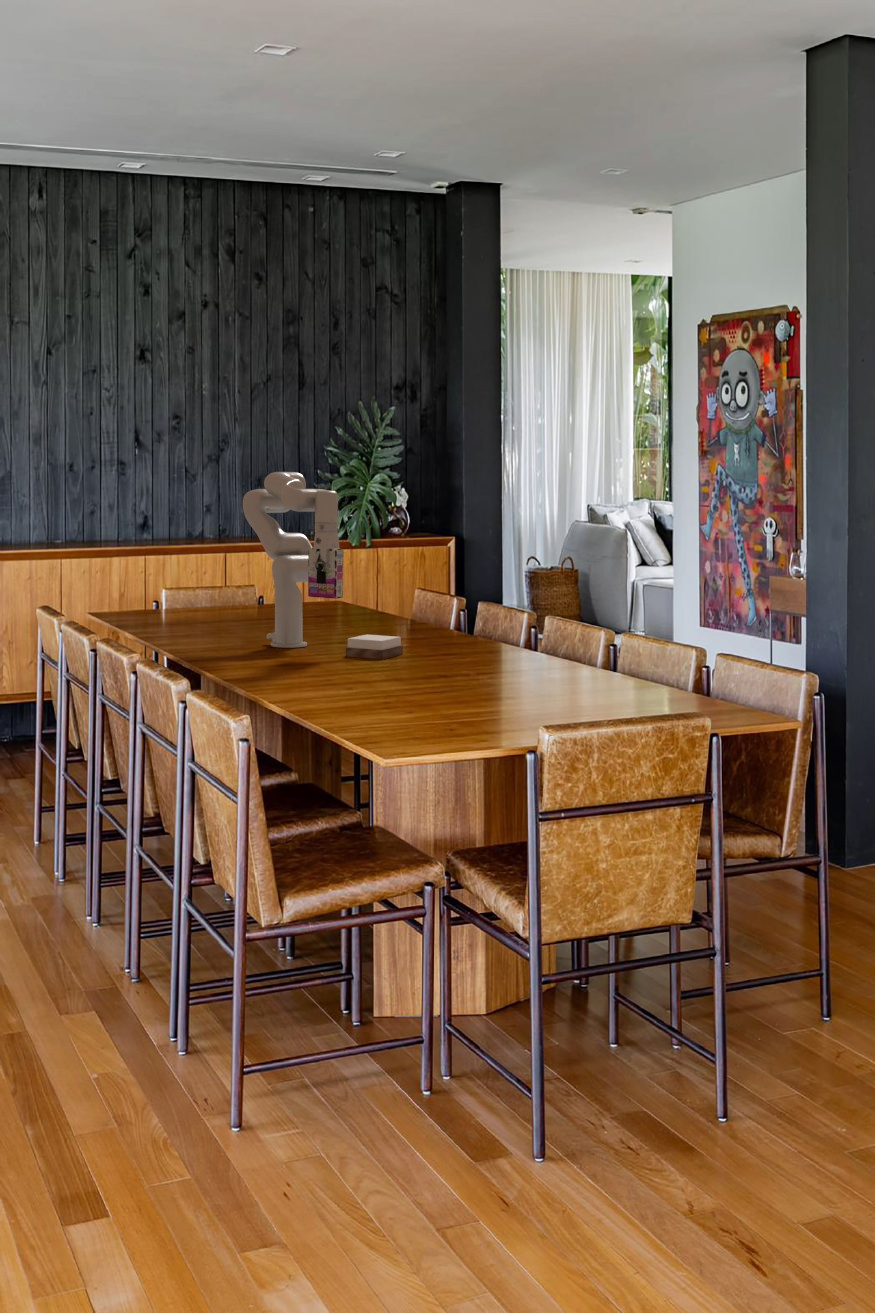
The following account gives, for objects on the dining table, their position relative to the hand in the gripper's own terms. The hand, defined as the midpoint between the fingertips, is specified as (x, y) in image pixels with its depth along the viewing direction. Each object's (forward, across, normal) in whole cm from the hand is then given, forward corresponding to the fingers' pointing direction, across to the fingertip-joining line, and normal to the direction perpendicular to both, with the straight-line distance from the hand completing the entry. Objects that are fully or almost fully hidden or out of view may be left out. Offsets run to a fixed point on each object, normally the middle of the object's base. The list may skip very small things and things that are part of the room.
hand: (325, 582), depth 471 cm
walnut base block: (+25, +6, -16) cm, 30 cm away
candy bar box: (+5, 0, 0) cm, 5 cm away
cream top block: (+21, +6, -16) cm, 27 cm away
